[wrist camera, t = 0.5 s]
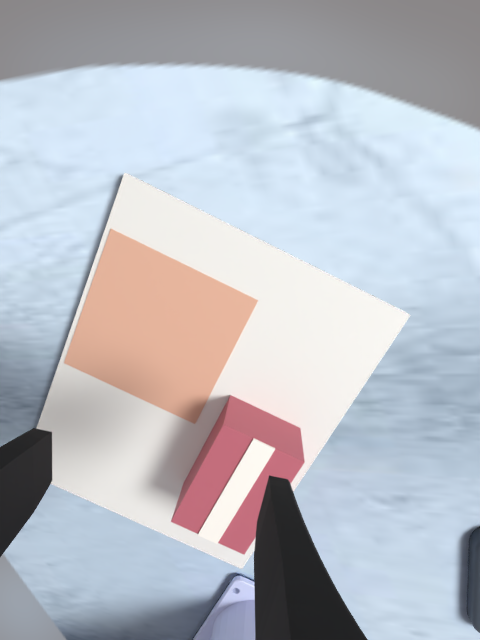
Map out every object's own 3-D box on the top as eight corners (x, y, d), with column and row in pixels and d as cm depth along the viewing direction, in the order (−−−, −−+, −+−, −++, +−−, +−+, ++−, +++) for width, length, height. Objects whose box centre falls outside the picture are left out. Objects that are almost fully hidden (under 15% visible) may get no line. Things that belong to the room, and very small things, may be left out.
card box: (247, 512, 23) (244, 556, 20) (183, 482, 23) (170, 523, 20) (300, 427, 21) (304, 463, 18) (230, 394, 21) (223, 425, 18)
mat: (242, 561, 25) (241, 570, 25) (27, 464, 24) (20, 471, 24) (406, 312, 19) (410, 315, 19) (128, 174, 18) (123, 172, 18)
